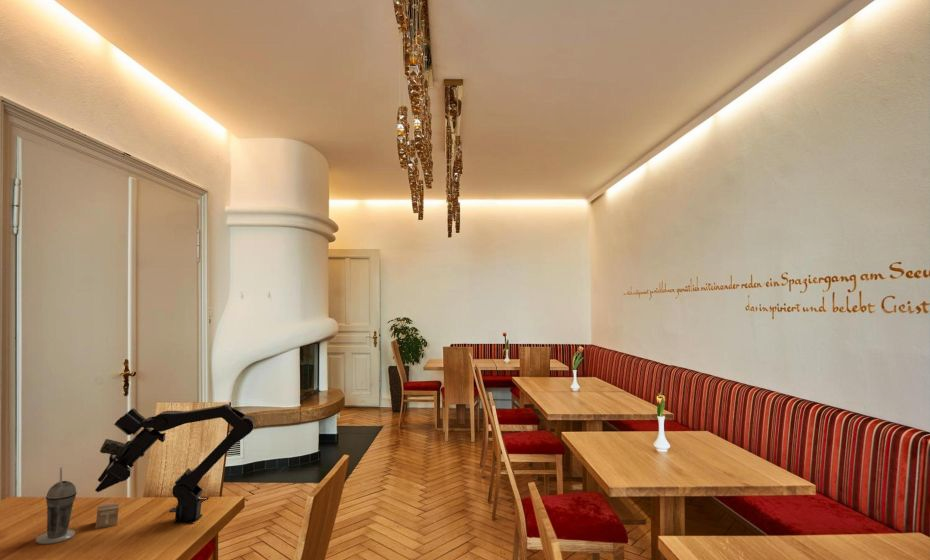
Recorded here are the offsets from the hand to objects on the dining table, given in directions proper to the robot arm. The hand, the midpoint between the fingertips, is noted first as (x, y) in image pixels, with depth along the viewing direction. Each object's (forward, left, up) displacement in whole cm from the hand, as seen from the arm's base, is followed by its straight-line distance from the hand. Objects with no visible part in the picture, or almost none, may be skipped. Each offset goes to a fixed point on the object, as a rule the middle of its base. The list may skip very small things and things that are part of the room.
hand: (97, 486), depth 155 cm
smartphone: (-19, -22, -14) cm, 32 cm away
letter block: (-1, -5, -13) cm, 14 cm away
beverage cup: (+7, +6, -13) cm, 16 cm away
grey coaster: (+7, +6, -13) cm, 16 cm away
